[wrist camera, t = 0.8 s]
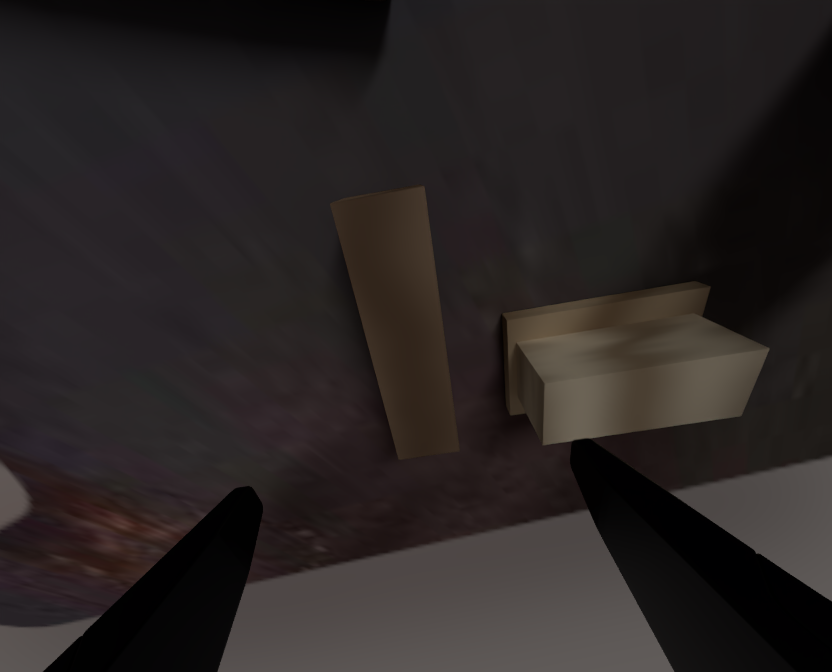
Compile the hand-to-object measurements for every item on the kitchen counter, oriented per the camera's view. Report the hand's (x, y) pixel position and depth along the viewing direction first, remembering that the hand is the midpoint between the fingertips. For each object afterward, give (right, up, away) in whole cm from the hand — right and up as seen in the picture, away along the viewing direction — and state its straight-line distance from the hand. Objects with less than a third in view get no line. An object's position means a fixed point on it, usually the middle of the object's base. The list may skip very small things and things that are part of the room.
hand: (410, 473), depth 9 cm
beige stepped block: (+11, +3, +11) cm, 16 cm away
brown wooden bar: (0, +5, +10) cm, 11 cm away
